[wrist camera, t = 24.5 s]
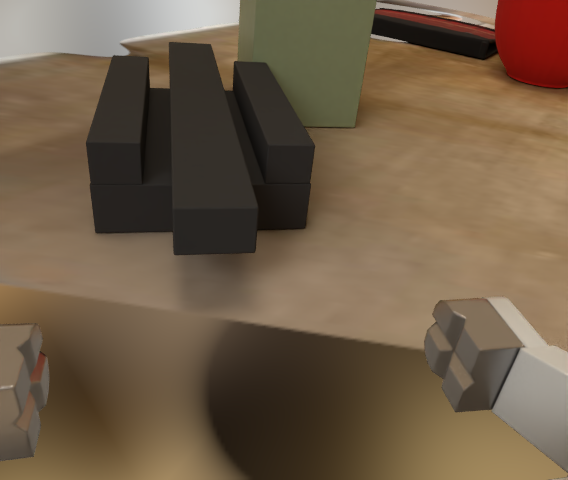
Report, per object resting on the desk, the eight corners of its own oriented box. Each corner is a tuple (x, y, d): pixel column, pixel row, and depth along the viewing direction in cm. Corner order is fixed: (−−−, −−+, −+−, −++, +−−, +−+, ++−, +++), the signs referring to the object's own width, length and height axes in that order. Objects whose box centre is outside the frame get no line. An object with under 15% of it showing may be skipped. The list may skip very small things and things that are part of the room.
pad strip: (173, 256, 19) (172, 208, 18) (169, 69, 39) (168, 41, 37) (255, 253, 20) (259, 207, 18) (210, 71, 39) (211, 44, 38)
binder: (490, 39, 61) (337, 8, 71) (483, 60, 63) (334, 26, 72) (522, 31, 73) (387, 4, 83) (517, 48, 74) (384, 20, 84)
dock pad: (95, 233, 24) (84, 141, 22) (117, 123, 36) (111, 55, 33) (305, 228, 26) (316, 144, 24) (262, 125, 38) (267, 62, 35)
